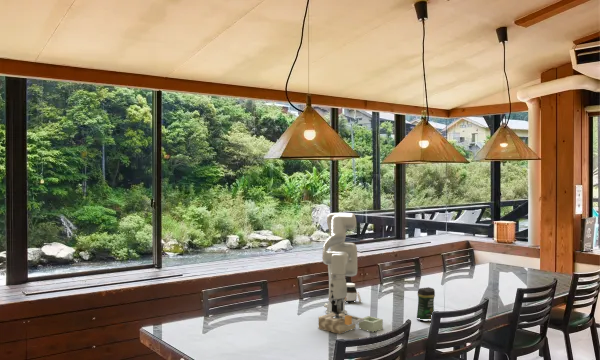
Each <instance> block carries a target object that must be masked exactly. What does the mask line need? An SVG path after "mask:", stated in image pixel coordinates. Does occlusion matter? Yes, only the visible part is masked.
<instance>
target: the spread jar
mask: <svg viewBox="0 0 600 360" xmlns="http://www.w3.org/2000/svg"><path fill="white" fill-rule="evenodd" d="M346 285H347V296H346V297H345V301H346V302H354V301H355V302H357V299H358V302H359V303H362V302H361V301H362V299H361V295H360V293H359V291H358V290H357V288H356V283H353V282H346ZM346 302H345V303H346ZM355 302H354V303H355Z"/></svg>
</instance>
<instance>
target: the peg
mask: <svg viewBox="0 0 600 360" xmlns="http://www.w3.org/2000/svg"><path fill="white" fill-rule="evenodd" d="M334 301H335V300H334ZM341 303H342V299H338V300H337V304H336V305H337V312H333V313H334V314H335V316H334V317H333V318H336V319H340V318H341V317H340V316H339V314H341Z"/></svg>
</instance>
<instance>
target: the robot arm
mask: <svg viewBox="0 0 600 360" xmlns="http://www.w3.org/2000/svg"><path fill="white" fill-rule="evenodd" d="M356 217H357V216H356V215H355V214H354V213H352V212H331V213H329V214H327V216H326V223H327V228H328V232H329V234H330V236H329V238H327V239H326V240H325V242H324V243H323V246H322V257H321V258H322V262H323V264H324V265H327V271H328V303H325V304H324V305H323V307H324V308H326V310H325V313H326V315H327V314H330V313H333V312H337V305H336V304H337V300H338V299H342V303H341V314H346V315H348V310H346V309H345V306H346V302H345V297H346V296H347V285H346V283H347V279H346V277H356V276H357V274H358V246H357V245H356V243H354V242H345V241H346V237H347V236H346V235H347V234H346V233H347V232H346V231H347V230H355V229H356V228H357V218H356ZM329 249H330V250H329ZM334 300H335V301H334Z"/></svg>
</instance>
